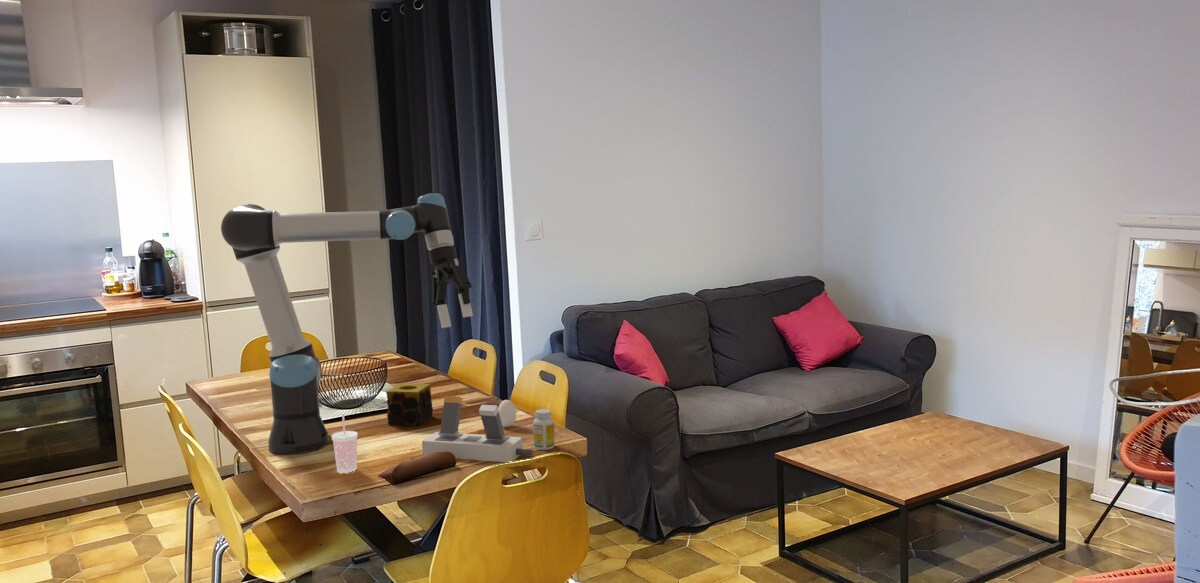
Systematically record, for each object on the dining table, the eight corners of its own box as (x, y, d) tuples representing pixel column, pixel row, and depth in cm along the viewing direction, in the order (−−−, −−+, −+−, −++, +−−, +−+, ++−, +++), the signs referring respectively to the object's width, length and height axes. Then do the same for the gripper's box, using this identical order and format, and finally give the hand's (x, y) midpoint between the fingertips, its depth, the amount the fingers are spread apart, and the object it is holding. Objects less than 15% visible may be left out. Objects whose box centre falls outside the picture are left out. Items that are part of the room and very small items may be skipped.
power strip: (422, 456, 229) (421, 440, 228) (437, 446, 236) (436, 431, 236) (526, 463, 221) (525, 447, 220) (537, 453, 228) (537, 437, 228)
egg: (509, 430, 249) (507, 403, 248) (493, 427, 252) (492, 401, 251) (520, 425, 253) (519, 398, 252) (505, 423, 256) (504, 396, 255)
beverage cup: (330, 469, 220) (326, 413, 218) (355, 464, 224) (351, 409, 222) (337, 476, 215) (333, 419, 213) (363, 471, 218) (359, 415, 216)
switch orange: (440, 436, 232) (446, 397, 234) (459, 437, 230) (464, 398, 233) (437, 434, 230) (442, 396, 233) (455, 436, 228) (461, 396, 231)
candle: (420, 426, 255) (418, 392, 254) (386, 425, 257) (384, 391, 256) (433, 416, 265) (432, 383, 264) (401, 415, 267) (399, 382, 266)
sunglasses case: (436, 458, 226) (443, 438, 223) (451, 477, 223) (459, 457, 220) (373, 477, 214) (380, 457, 210) (389, 498, 210) (396, 477, 207)
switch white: (488, 435, 228) (479, 404, 223) (507, 436, 227) (499, 405, 222) (485, 440, 227) (476, 410, 221) (504, 442, 225) (496, 411, 220)
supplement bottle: (534, 450, 231) (532, 414, 229) (533, 444, 236) (532, 408, 234) (555, 449, 231) (554, 413, 230) (554, 443, 236) (553, 407, 235)
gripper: (473, 234, 245) (489, 310, 243) (434, 259, 265) (449, 329, 262) (448, 236, 241) (465, 313, 238) (411, 261, 261) (426, 333, 258)
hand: (457, 322), depth 250 cm, fingers open, 13 cm apart
